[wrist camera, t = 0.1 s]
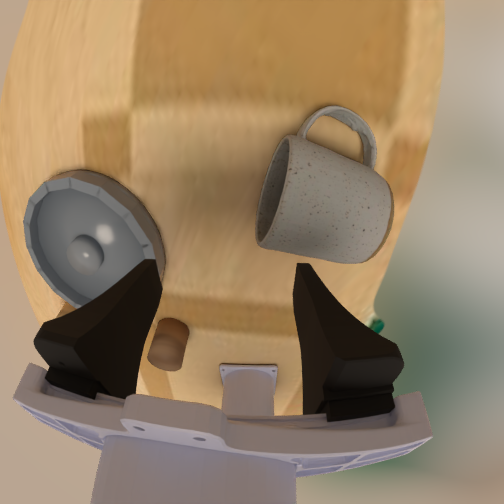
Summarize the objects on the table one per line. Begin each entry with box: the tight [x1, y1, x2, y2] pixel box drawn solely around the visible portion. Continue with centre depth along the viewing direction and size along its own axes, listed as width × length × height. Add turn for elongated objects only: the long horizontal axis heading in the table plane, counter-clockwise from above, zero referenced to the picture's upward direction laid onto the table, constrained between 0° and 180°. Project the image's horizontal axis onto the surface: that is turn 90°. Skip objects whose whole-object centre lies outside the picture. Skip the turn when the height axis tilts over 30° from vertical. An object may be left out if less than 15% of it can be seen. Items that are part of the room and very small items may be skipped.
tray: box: [23, 170, 165, 309], centre depth 24 cm, size 17×17×2 cm
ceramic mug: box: [255, 106, 394, 264], centre depth 17 cm, size 11×8×8 cm
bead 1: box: [56, 301, 77, 318], centre depth 29 cm, size 4×4×5 cm
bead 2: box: [147, 318, 189, 371], centre depth 29 cm, size 4×4×5 cm
